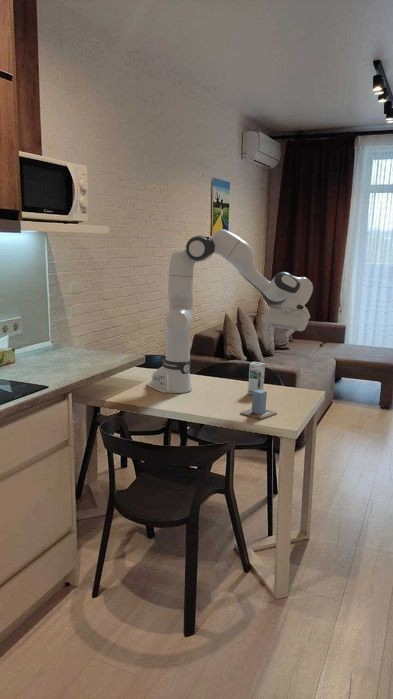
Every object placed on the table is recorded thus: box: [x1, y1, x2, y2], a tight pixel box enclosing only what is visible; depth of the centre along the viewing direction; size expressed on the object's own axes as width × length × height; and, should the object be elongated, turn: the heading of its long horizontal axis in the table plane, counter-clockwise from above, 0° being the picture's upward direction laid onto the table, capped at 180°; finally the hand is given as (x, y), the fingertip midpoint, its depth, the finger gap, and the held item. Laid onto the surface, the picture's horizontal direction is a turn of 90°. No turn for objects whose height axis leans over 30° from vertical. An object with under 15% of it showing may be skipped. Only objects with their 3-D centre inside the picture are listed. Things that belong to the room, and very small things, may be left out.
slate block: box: [251, 389, 268, 415], centre depth 216 cm, size 4×4×9 cm
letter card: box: [239, 408, 278, 421], centre depth 217 cm, size 10×12×1 cm
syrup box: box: [247, 361, 266, 395], centre depth 246 cm, size 6×6×14 cm
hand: (276, 334), depth 223 cm, fingers open, 8 cm apart
